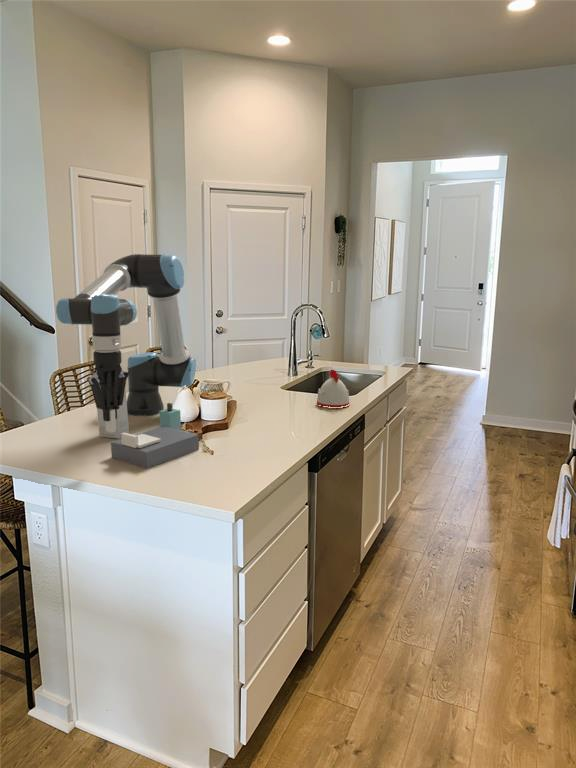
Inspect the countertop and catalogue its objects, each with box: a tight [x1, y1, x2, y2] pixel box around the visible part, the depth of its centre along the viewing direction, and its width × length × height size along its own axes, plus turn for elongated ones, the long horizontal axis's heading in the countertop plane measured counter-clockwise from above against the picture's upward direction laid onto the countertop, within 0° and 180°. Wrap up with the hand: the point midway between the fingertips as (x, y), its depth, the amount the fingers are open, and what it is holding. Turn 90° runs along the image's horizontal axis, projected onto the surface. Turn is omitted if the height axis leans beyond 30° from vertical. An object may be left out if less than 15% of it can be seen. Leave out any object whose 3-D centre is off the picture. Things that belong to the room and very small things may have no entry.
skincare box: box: [96, 390, 130, 440], centre depth 201 cm, size 8×7×16 cm
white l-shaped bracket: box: [120, 432, 161, 448], centre depth 179 cm, size 8×9×3 cm
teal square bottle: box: [158, 402, 182, 430], centre depth 203 cm, size 5×5×12 cm
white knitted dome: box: [316, 369, 350, 407], centre depth 249 cm, size 14×14×15 cm
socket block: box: [110, 426, 200, 469], centre depth 185 cm, size 16×22×5 cm
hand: (110, 431), depth 169 cm, fingers closed
